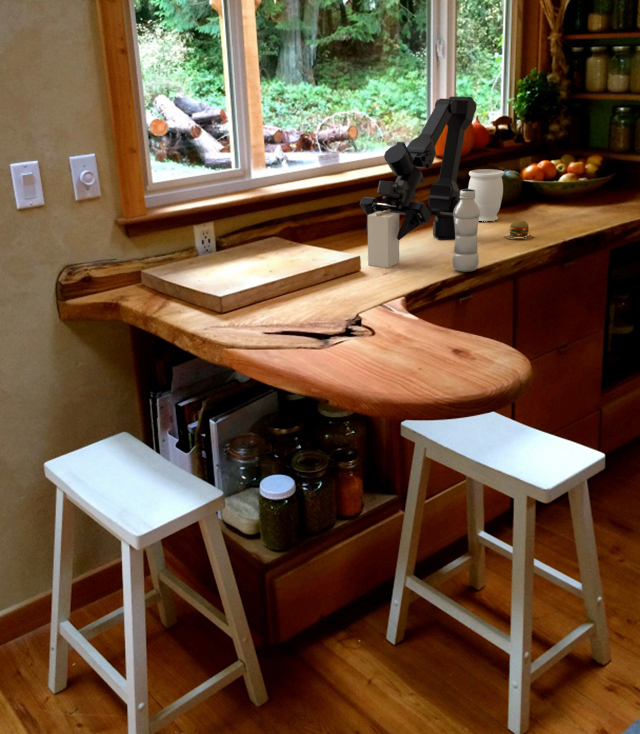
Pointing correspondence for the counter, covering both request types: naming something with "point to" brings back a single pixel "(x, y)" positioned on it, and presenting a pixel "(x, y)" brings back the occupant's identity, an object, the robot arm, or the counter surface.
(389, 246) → the tall white block
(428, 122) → the robot arm
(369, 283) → the counter surface
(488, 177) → the jar
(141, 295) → the counter surface
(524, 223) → the hamburger
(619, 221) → the counter surface
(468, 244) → the plastic bottle
